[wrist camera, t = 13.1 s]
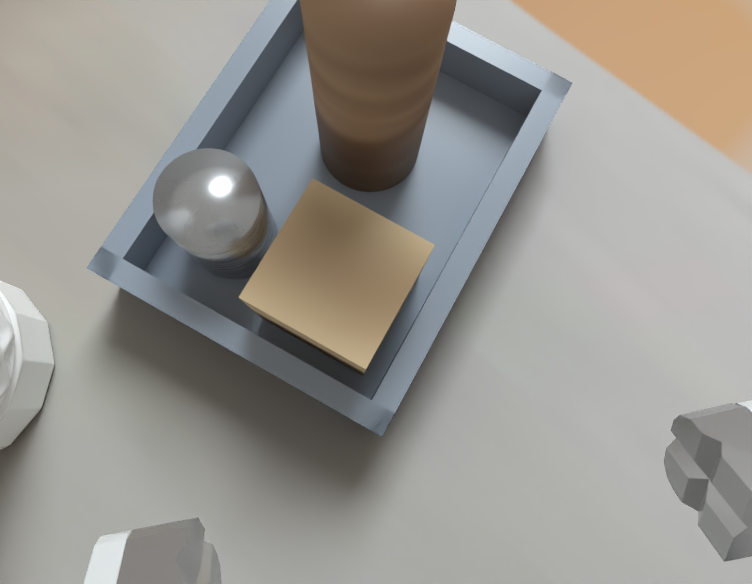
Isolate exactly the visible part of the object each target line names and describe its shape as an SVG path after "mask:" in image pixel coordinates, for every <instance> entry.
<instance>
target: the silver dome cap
mask: <svg viewBox="0 0 752 584" xmlns="http://www.w3.org/2000/svg"><path fill="white" fill-rule="evenodd" d="M153 211H154V214H155V217H156V220H157V222H158V224H159V225H160V227H161V228H162V230H163V231H164V232H165V233H166V234H167V235H168V236H169V237H170V238H171V239H173V240H174V241H175V242H176V243H177V244H178V245H179V246H180V247H182V248H183V249H184V250H185V251H186V252H187V253H188V254H189V255H191V256H192V257H193V258H194V259H195V260H196V261H197V262H198V263H200V264H201V265H202V266H203V267H204V268H205V269H206V270H208V271H209V272H211V273H212V274H214V275H216V276H218V277H221V278H226V279H242V278H246V277H249V276H252V275H253V273H254V272H255V270H256V268H257V267H258V265H259V264H260V262H261V260H262V259H263V257H264V255H265V254H266V252H267V251H268V249H269V247H270V246H271V244H272V243H273V241H274V239H275V238H276V236H277V235H278V229H277V225H276V222H275V220H274V218H273V215H272V213H271V211H270V209H269V206H268V204H267V202H266V200H265V197H264V195H263V193H262V191H261V188H260V186H259V184H258V181H257V179H256V177H255V175H254V173H253V172H252V170H251V169H250V167H249V166H248V165H247V164H246V163H245V162H244V161H243V160H242V159H240V158H239V157H237V156H236V155H234V154H232V153H230V152H227V151H224V150H220V149H214V148H203V149H197V150H193V151H189V152H187V153H184V154H182V155H180V156H179V157H177V158H175V159H174V160H173V161H172V162H170V163H169V164H168V165H167V166H166V167H165V169H164V170H163V171H162V172H161V174H160V176H159V177H158V179H157V182H156V184H155V187H154V191H153Z"/></svg>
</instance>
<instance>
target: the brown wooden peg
mask: <svg viewBox="0 0 752 584" xmlns="http://www.w3.org/2000/svg"><path fill="white" fill-rule="evenodd" d="M300 5H301V12H302V19H303V26H304V33H305V41H306V48H307V55H308V62H309V69H310V76H311V83H312V90H313V98H314V105H315V112H316V119H317V126H318V133H319V140H320V147H321V154H322V158H323V161H324V163H325V165H326V167H327V169H328V170H329V172H330V173H331V174H332V176H333V177H334V178H335V179H336V180H338V181H339V182H340V183H342V184H343V185H345V186H347V187H349V188H351V189H354V190H357V191H363V192H378V191H383V190H387V189H389V188H392V187H394V186H396V185H397V184H399V183H400V182H402V181H403V180H404V179H405V178H406V177H407V176H408V175H409V174H410V172H411V171H412V169H413V167H414V165H415V163H416V160H417V157H418V153H419V149H420V145H421V141H422V137H423V133H424V129H425V125H426V121H427V117H428V114H429V110H430V106H431V102H432V98H433V94H434V90H435V86H436V82H437V78H438V74H439V70H440V66H441V62H442V58H443V54H444V50H445V46H446V42H447V38H448V34H449V31H450V27H451V23H452V19H453V15H454V11H455V6H456V0H300Z"/></svg>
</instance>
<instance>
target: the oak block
mask: <svg viewBox="0 0 752 584" xmlns="http://www.w3.org/2000/svg"><path fill="white" fill-rule="evenodd" d="M434 246H435V245H434V244H432V243H431V242H429V241H427V240H425V239H423V238H421V237H420V236H418V235H416V234H414V233H412V232H410V231H409V230H407V229H405V228H403V227H401V226H399V225H398V224H396V223H394V222H392V221H390V220H388V219H387V218H385V217H383V216H381V215H379V214H377V213H375V212H374V211H372V210H370V209H368V208H366V207H364V206H363V205H361V204H359V203H357V202H355V201H353V200H352V199H350V198H348V197H346V196H344V195H342V194H341V193H339V192H337V191H335V190H333V189H331V188H330V187H328V186H326V185H324V184H322V183H320V182H319V181H317V180H315V179H313V178H312V180H311V181H310V183H309V185H308V186H307V188H306V189H305V191H304V193H303V194H302V196H301V197H300V199H299V201H298V202H297V204H296V206H295V207H294V209H293V210H292V212H291V214H290V215H289V217H288V218H287V220H286V222H285V223H284V225H283V226H282V228H281V230H280V231H279V233H278V235H277V236H276V238H275V239H274V241H273V243H272V244H271V246H270V247H269V249H268V251H267V252H266V254H265V255H264V257H263V259H262V260H261V262H260V264H259V265H258V267H257V268H256V270H255V272H254V273H253V275H252V276H251V278H250V280H249V281H248V283H247V284H246V286H245V288H244V289H243V291H242V293H241V294H240V296H239V297H238V298H240V299H241V300H242V301H243V302H244V303H245V304H246V305H247V306H249V307H250V308H251V309H252V310H253V311H254V312H255V313H256V314H258V315H259V316H260V317H261V318H262V319H264V320H266V321H267V322H269V323H271V324H273V325H274V326H276V327H278V328H280V329H281V330H283V331H285V332H287V333H289V334H290V335H292V336H294V337H296V338H297V339H299V340H301V341H303V342H304V343H306V344H308V345H310V346H312V347H313V348H315V349H317V350H319V351H320V352H322V353H324V354H326V355H327V356H329V357H331V358H333V359H334V360H336V361H338V362H340V363H342V364H343V365H345V366H347V367H349V368H350V369H352V370H354V371H356V372H357V373H359V374H361V375H363V376H364V374H365V372H366V371H367V369H368V367H369V365H370V363H371V362H372V360H373V358H374V356H375V354H376V353H377V351H378V349H379V347H380V345H381V344H382V342H383V340H384V338H385V336H386V335H387V333H388V331H389V329H390V327H391V326H392V324H393V322H394V320H395V318H396V317H397V315H398V313H399V311H400V309H401V308H402V306H403V304H404V302H405V300H406V299H407V297H408V295H409V293H410V291H411V290H412V288H413V286H414V284H415V282H416V281H417V279H418V277H419V275H420V273H421V271H422V269H423V267H424V265H425V264H426V262H427V260H428V258H429V256H430V254H431V252H432V250H433V248H434Z"/></svg>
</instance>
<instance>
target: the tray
mask: <svg viewBox="0 0 752 584" xmlns="http://www.w3.org/2000/svg"><path fill="white" fill-rule="evenodd" d="M571 85H572V82H570V81H568V80H566V79H564V78H562V77H560V76H558V75H556V74H555V73H553V72H551V71H549V70H547V69H545V68H543V67H541V66H539V65H537V64H535V63H533V62H531V61H529V60H527V59H525V58H524V57H522V56H520V55H518V54H516V53H514V52H512V51H510V50H508V49H506V48H504V47H502V46H500V45H498V44H496V43H494V42H493V41H491V40H489V39H487V38H485V37H483V36H481V35H479V34H477V33H475V32H473V31H471V30H469V29H467V28H465V27H463V26H462V25H460V24H458V23H456V22H454V21H452V23H451V27H450V31H449V34H448V38H447V42H446V46H445V50H444V54H443V58H442V62H441V66H440V70H439V74H438V78H437V82H436V86H435V90H434V94H433V98H432V102H431V106H430V110H429V114H428V117H427V121H426V125H425V129H424V133H423V137H422V141H421V145H420V149H419V153H418V157H417V160H416V163H415V165H414V167H413V169H412V171H411V172H410V174H409V175H408V176H407V177H406V178H405V179H404V180H403V181H402V182H400V183H399V184H397V185H396V186H394V187H392V188H389V189H387V190H383V191H378V192H363V191H357V190H354V189H351V188H349V187H347V186H345V185H343V184H342V183H340V182H339V181H338V180H336V179H335V178H334V177H333V176H332V174H331V173H330V172H329V170H328V169H327V167H326V165H325V163H324V161H323V158H322V154H321V147H320V140H319V133H318V126H317V119H316V112H315V105H314V98H313V90H312V83H311V76H310V69H309V62H308V55H307V48H306V41H305V33H304V26H303V19H302V12H301V5H300V0H270V1H269V3H268V4H267V5H266V7H265V8H264V10H263V11H262V13H261V14H260V16H259V17H258V19H257V20H256V22H255V23H254V24H253V26H252V27H251V29H250V30H249V32H248V33H247V35H246V36H245V38H244V39H243V40H242V42H241V43H240V45H239V46H238V48H237V49H236V51H235V52H234V54H233V55H232V57H231V58H230V59H229V61H228V62H227V64H226V65H225V67H224V68H223V70H222V71H221V73H220V74H219V75H218V77H217V78H216V80H215V81H214V83H213V84H212V86H211V87H210V89H209V90H208V91H207V93H206V94H205V96H204V97H203V99H202V100H201V102H200V103H199V105H198V106H197V108H196V109H195V110H194V112H193V113H192V115H191V116H190V118H189V119H188V121H187V122H186V124H185V125H184V126H183V128H182V129H181V131H180V132H179V134H178V135H177V137H176V138H175V140H174V141H173V143H172V144H171V145H170V147H169V148H168V150H167V151H166V153H165V154H164V156H163V157H162V159H161V160H160V161H159V163H158V164H157V166H156V167H155V169H154V170H153V172H152V173H151V175H150V176H149V177H148V179H147V180H146V182H145V183H144V185H143V186H142V188H141V189H140V191H139V192H138V194H137V195H136V196H135V198H134V199H133V201H132V202H131V204H130V205H129V207H128V208H127V210H126V211H125V212H124V214H123V215H122V217H121V218H120V220H119V221H118V223H117V224H116V226H115V227H114V229H113V230H112V231H111V233H110V234H109V236H108V237H107V239H106V240H105V242H104V243H103V245H102V246H101V247H100V249H99V250H98V252H97V253H96V255H95V256H94V258H93V259H92V261H91V262H90V263H89V265H88V266H87V269H89V270H91V271H93V272H94V273H96V274H98V275H100V276H101V277H103V278H105V279H107V280H108V281H110V282H112V283H114V284H115V285H117V286H119V287H121V288H122V289H124V290H126V291H128V292H129V293H131V294H133V295H135V296H136V297H138V298H140V299H142V300H143V301H145V302H147V303H149V304H150V305H152V306H154V307H156V308H157V309H159V310H161V311H163V312H164V313H166V314H168V315H170V316H171V317H173V318H175V319H177V320H178V321H180V322H182V323H184V324H185V325H187V326H189V327H191V328H192V329H194V330H196V331H198V332H199V333H201V334H203V335H205V336H206V337H208V338H210V339H212V340H213V341H215V342H217V343H218V344H220V345H222V346H224V347H225V348H227V349H229V350H231V351H232V352H234V353H236V354H238V355H239V356H241V357H243V358H245V359H246V360H248V361H250V362H252V363H253V364H255V365H257V366H259V367H260V368H262V369H264V370H266V371H267V372H269V373H271V374H273V375H274V376H276V377H278V378H280V379H281V380H283V381H285V382H287V383H288V384H290V385H292V386H294V387H295V388H297V389H299V390H301V391H302V392H304V393H306V394H308V395H309V396H311V397H313V398H315V399H316V400H318V401H320V402H322V403H323V404H325V405H327V406H329V407H330V408H332V409H334V410H336V411H337V412H339V413H341V414H343V415H344V416H346V417H348V418H350V419H351V420H353V421H355V422H357V423H358V424H360V425H362V426H364V427H365V428H367V429H369V430H371V431H372V432H374V433H376V434H378V435H379V436H381V437H382V436H383V434H384V433H385V431H386V429H387V427H388V425H389V423H390V421H391V420H392V418H393V416H394V414H395V412H396V410H397V408H398V406H399V405H400V403H401V401H402V399H403V397H404V395H405V393H406V392H407V390H408V388H409V386H410V384H411V382H412V380H413V379H414V377H415V375H416V373H417V371H418V369H419V367H420V366H421V364H422V362H423V360H424V358H425V356H426V354H427V353H428V351H429V349H430V347H431V345H432V343H433V341H434V340H435V338H436V336H437V334H438V332H439V330H440V328H441V326H442V325H443V323H444V321H445V319H446V317H447V315H448V313H449V312H450V310H451V308H452V306H453V304H454V302H455V300H456V299H457V297H458V295H459V293H460V291H461V289H462V287H463V286H464V284H465V282H466V280H467V278H468V276H469V274H470V273H471V271H472V269H473V267H474V265H475V263H476V261H477V260H478V258H479V256H480V254H481V252H482V250H483V248H484V246H485V245H486V243H487V241H488V239H489V237H490V235H491V233H492V232H493V230H494V228H495V226H496V224H497V222H498V220H499V219H500V217H501V215H502V213H503V211H504V209H505V207H506V206H507V204H508V202H509V200H510V198H511V196H512V194H513V193H514V191H515V189H516V187H517V185H518V183H519V181H520V180H521V178H522V176H523V174H524V172H525V170H526V168H527V166H528V165H529V163H530V161H531V159H532V157H533V155H534V153H535V152H536V150H537V148H538V146H539V144H540V142H541V140H542V139H543V137H544V135H545V133H546V131H547V129H548V127H549V126H550V124H551V122H552V120H553V118H554V116H555V114H556V113H557V111H558V109H559V107H560V105H561V103H562V101H563V100H564V98H565V96H566V94H567V92H568V90H569V88H570V87H571ZM203 148H214V149H220V150H224V151H227V152H230V153H232V154H234V155H236V156H237V157H239V158H240V159H242V160H243V161H244V162H245V163H246V164H247V165H248V166H249V167H250V169H251V170H252V172H253V173H254V175H255V177H256V179H257V181H258V184H259V186H260V188H261V191H262V193H263V195H264V197H265V200H266V202H267V204H268V206H269V209H270V211H271V213H272V215H273V218H274V220H275V222H276V225H277V229H278V233H279V231H280V230H281V228H282V226H283V225H284V223H285V222H286V220H287V218H288V217H289V215H290V214H291V212H292V210H293V209H294V207H295V206H296V204H297V202H298V201H299V199H300V197H301V196H302V194H303V193H304V191H305V189H306V188H307V186H308V185H309V183H310V181H311V180H312V178H313V179H315V180H317V181H319V182H320V183H322V184H324V185H326V186H328V187H330V188H331V189H333V190H335V191H337V192H339V193H341V194H342V195H344V196H346V197H348V198H350V199H352V200H353V201H355V202H357V203H359V204H361V205H363V206H364V207H366V208H368V209H370V210H372V211H374V212H375V213H377V214H379V215H381V216H383V217H385V218H387V219H388V220H390V221H392V222H394V223H396V224H398V225H399V226H401V227H403V228H405V229H407V230H409V231H410V232H412V233H414V234H416V235H418V236H420V237H421V238H423V239H425V240H427V241H429V242H431V243H432V244H434V245H435V246H434V248H433V250H432V252H431V254H430V256H429V258H428V260H427V262H426V264H425V265H424V267H423V269H422V271H421V273H420V275H419V277H418V279H417V281H416V282H415V284H414V286H413V288H412V290H411V291H410V293H409V295H408V297H407V299H406V300H405V302H404V304H403V306H402V308H401V309H400V311H399V313H398V315H397V317H396V318H395V320H394V322H393V324H392V326H391V327H390V329H389V331H388V333H387V335H386V336H385V338H384V340H383V342H382V344H381V345H380V347H379V349H378V351H377V353H376V354H375V356H374V358H373V360H372V362H371V363H370V365H369V367H368V369H367V371H366V372H365V374H364V376H363V375H361V374H359V373H357V372H356V371H354V370H352V369H350V368H349V367H347V366H345V365H343V364H342V363H340V362H338V361H336V360H334V359H333V358H331V357H329V356H327V355H326V354H324V353H322V352H320V351H319V350H317V349H315V348H313V347H312V346H310V345H308V344H306V343H304V342H303V341H301V340H299V339H297V338H296V337H294V336H292V335H290V334H289V333H287V332H285V331H283V330H281V329H280V328H278V327H276V326H274V325H273V324H271V323H269V322H267V321H266V320H264V319H262V318H261V317H260V316H259V315H258V314H256V313H255V312H254V311H253V310H252V309H251V308H250V307H249V306H247V305H246V304H245V303H244V302H243V301H242V300H241V299H240V298H238V297H239V296H240V294H241V293H242V291H243V289H244V288H245V286H246V284H247V283H248V281H249V280H250V278H251V276H249V277H246V278H242V279H226V278H221V277H218V276H216V275H214V274H212V273H211V272H209V271H208V270H206V269H205V268H204V267H203V266H202V265H201V264H200V263H198V262H197V261H196V260H195V259H194V258H193V257H192V256H191V255H189V254H188V253H187V252H186V251H185V250H184V249H183V248H182V247H180V246H179V245H178V244H177V243H176V242H175V241H174V240H173V239H171V238H170V237H169V236H168V235H167V234H166V233H165V232H164V231H163V230H162V228H161V227H160V225H159V224H158V222H157V220H156V217H155V214H154V211H153V191H154V187H155V184H156V182H157V179H158V177H159V176H160V174H161V172H162V171H163V170H164V169H165V167H166V166H167V165H168V164H169V163H170V162H172V161H173V160H174V159H175V158H177V157H179V156H180V155H182V154H184V153H187V152H189V151H193V150H197V149H203Z"/></svg>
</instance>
